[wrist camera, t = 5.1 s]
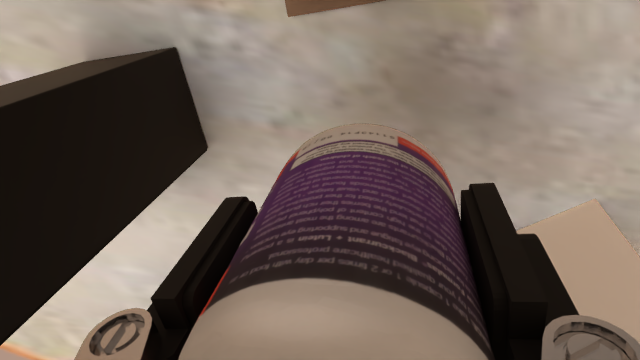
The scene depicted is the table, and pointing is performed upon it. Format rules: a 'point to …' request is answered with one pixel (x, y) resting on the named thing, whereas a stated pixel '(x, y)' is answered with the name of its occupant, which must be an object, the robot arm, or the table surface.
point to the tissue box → (84, 166)
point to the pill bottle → (349, 262)
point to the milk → (594, 264)
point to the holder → (320, 5)
